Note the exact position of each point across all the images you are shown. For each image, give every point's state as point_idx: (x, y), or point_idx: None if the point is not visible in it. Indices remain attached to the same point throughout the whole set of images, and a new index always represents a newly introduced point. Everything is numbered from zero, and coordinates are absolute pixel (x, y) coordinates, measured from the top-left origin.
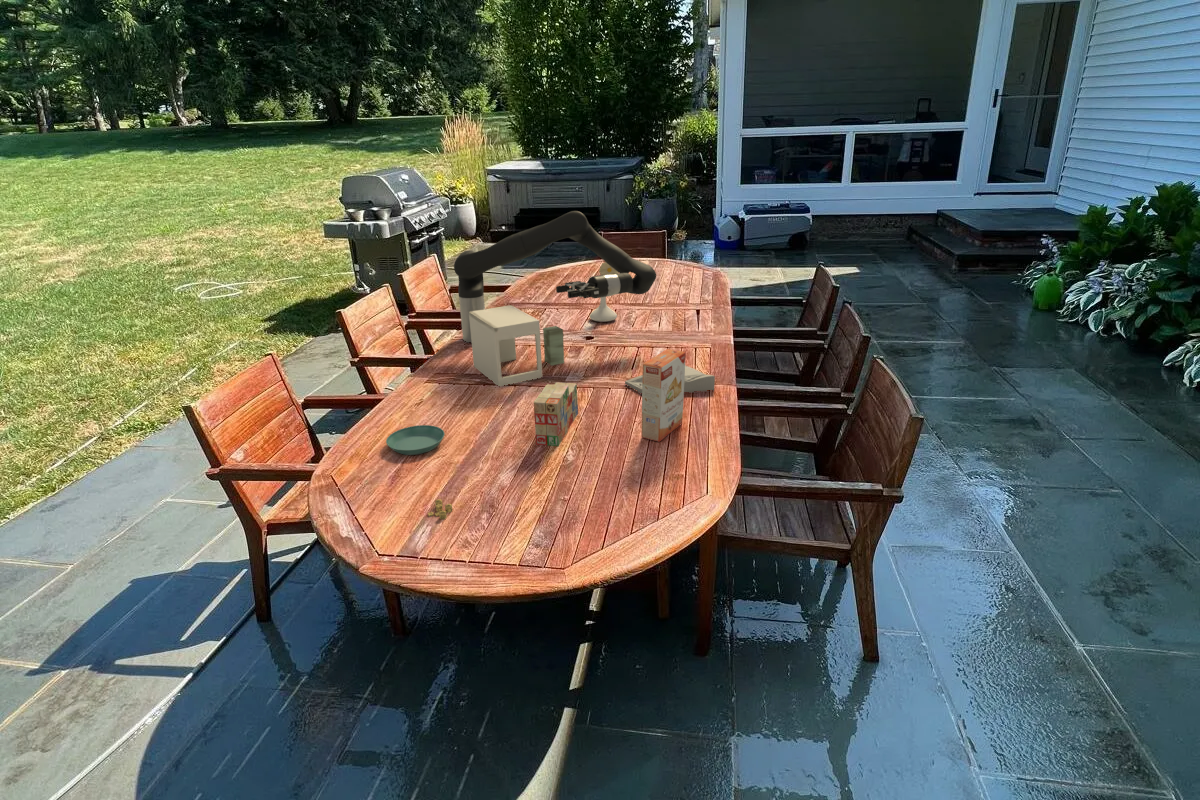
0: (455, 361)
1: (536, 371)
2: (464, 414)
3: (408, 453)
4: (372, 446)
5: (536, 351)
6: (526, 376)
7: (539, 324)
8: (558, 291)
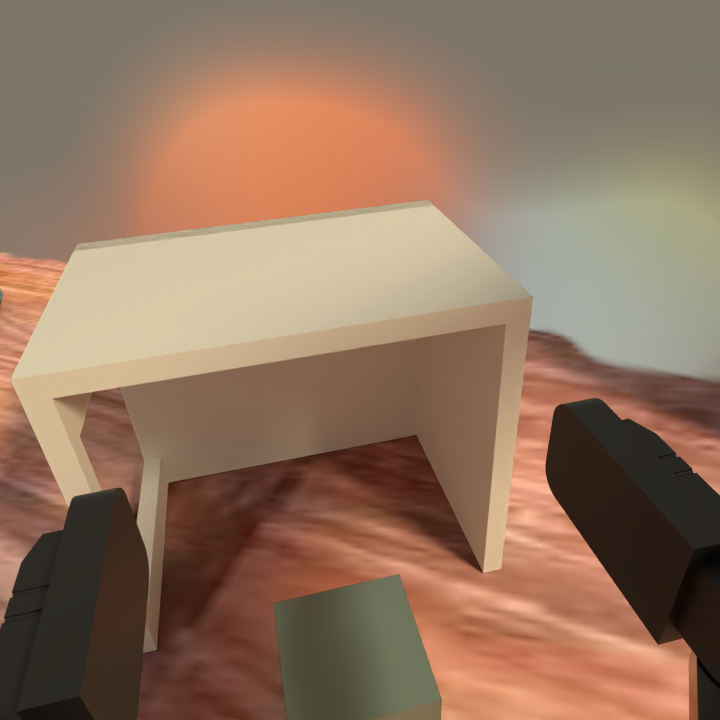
0: None
1: None
2: (11, 390)
3: None
4: (12, 285)
5: None
6: None
7: (22, 405)
8: (556, 478)
